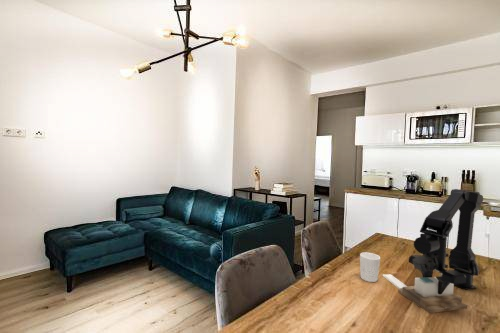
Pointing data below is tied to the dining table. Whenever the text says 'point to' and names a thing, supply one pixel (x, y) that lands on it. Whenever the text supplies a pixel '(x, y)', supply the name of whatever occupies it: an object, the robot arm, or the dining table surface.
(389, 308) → the dining table surface
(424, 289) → the white box
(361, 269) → the white cup
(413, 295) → the cradle
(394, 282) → the strip
